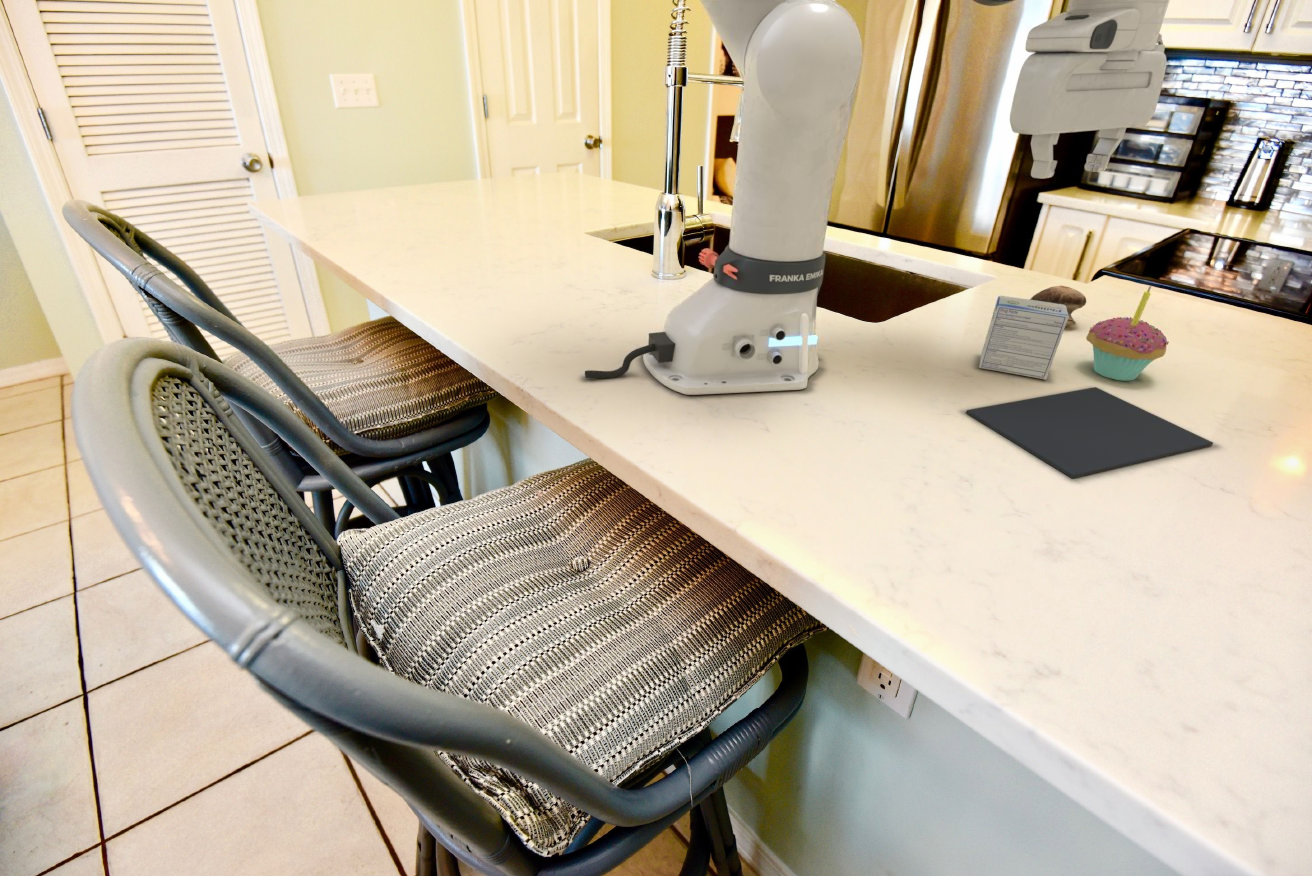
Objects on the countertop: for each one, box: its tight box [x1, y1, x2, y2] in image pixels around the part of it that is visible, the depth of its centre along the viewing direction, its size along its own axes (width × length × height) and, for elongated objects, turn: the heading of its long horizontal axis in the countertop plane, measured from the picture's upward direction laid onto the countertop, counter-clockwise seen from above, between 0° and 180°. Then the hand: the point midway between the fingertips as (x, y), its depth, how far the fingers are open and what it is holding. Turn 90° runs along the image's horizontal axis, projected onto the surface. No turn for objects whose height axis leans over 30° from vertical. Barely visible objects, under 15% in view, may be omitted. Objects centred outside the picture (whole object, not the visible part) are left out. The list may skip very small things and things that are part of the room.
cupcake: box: [1086, 285, 1170, 382], centre depth 83 cm, size 9×8×12 cm
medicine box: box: [978, 295, 1069, 380], centre depth 84 cm, size 8×4×9 cm, turn 65°
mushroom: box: [1029, 285, 1087, 327], centre depth 100 cm, size 8×8×6 cm
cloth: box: [965, 386, 1214, 479], centre depth 72 cm, size 20×14×1 cm
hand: (1068, 174), depth 75 cm, fingers open, 8 cm apart
